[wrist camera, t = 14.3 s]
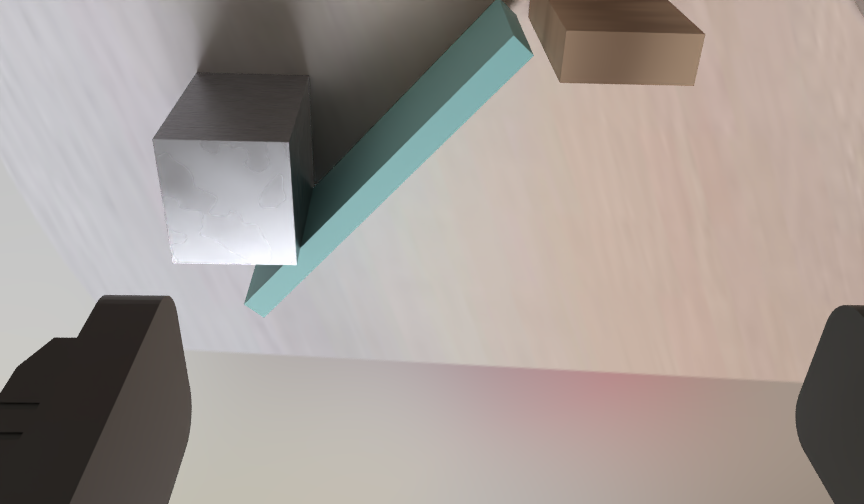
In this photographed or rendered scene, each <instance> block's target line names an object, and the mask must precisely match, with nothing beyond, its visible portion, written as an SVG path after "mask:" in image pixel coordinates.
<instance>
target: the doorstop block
mask: <svg viewBox="0 0 864 504" xmlns="http://www.w3.org/2000/svg"><path fill="white" fill-rule="evenodd" d="M152 140H153V146H154V152H155V158H156V164H157V170H158V176H159V182H160V188H161V194H162V200H163V206H164V212H165V219H166V225H167V231H168V237H169V243H170V249H171V255H172V261H173V263H189V264H255V265H297V262H298V257H299V253H300V248H301V243H302V238H303V234H304V229H305V224H306V220H307V215H308V210H309V206H310V201H311V196H312V192H313V187H314V168H313V148H312V127H311V106H310V85H309V76H305V75H267V74H228V73H196V75H195V76H194V78H193V79H192V81H191V82H190V84H189V85H188V87H187V88H186V90H185V91H184V93H183V94H182V96H181V97H180V99H179V100H178V102H177V103H176V105H175V106H174V108H173V109H172V111H171V112H170V114H169V115H168V117H167V118H166V120H165V121H164V123H163V124H162V126H161V127H160V129H159V130H158V132H157V133H156V135H155V136H154V138H153V139H152Z"/></svg>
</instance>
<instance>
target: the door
mask: <svg viewBox="0 0 864 504" xmlns="http://www.w3.org/2000/svg"><path fill="white" fill-rule="evenodd" d="M533 56H534V55H533V53H532V51H531V48H530V46H529V44H528V41H527V39H526V37H525V35H524V32H523V30H522V28H521V25H520V23H519V21H518V19H517V16H516V14H515V13H514V12H513V11H512V10H511V9H510V8H509V7H508V6H507V5H506V4H505V3H504V2H503V1H502V0H495V1H494V2H493V3H492V4H491V5H490V6H489V7H488V8H487V9H486V10H485V12H484V13H483V14H482V15H481V16H480V17H479V18H478V19H477V20H476V21H475V22H474V23H473V24H472V25H471V26H470V27H469V28H468V29H467V30H466V31H465V32H464V33H463V34H462V35H461V36H460V37H459V38H458V39H457V40H456V41H455V43H454V44H453V45H452V46H451V47H450V48H449V49H448V50H447V51H446V52H445V53H444V54H443V55H442V56H441V57H440V58H439V59H438V60H437V61H436V62H435V63H434V64H433V65H432V66H431V67H430V68H429V69H428V70H427V71H426V72H425V73H424V75H423V76H422V77H421V78H420V79H419V80H418V81H417V82H416V83H415V84H414V85H413V86H412V87H411V88H410V89H409V90H408V91H407V92H406V93H405V94H404V95H403V96H402V97H401V98H400V99H399V100H398V101H397V102H396V103H395V104H394V105H393V107H392V108H391V109H390V110H389V111H388V112H387V113H386V114H385V115H384V116H383V117H382V118H381V119H380V120H379V121H378V122H377V123H376V124H375V125H374V126H373V127H372V128H371V129H370V130H369V131H368V132H367V133H366V134H365V135H364V136H363V138H362V139H361V140H360V141H359V142H358V143H357V144H356V145H355V146H354V147H353V148H352V149H351V150H350V151H349V152H348V153H347V154H346V155H345V156H344V157H343V158H342V159H341V160H340V161H339V162H338V163H337V164H336V165H335V166H334V167H333V168H332V170H331V171H330V172H329V173H328V174H327V175H326V176H325V177H324V178H323V179H322V180H321V181H320V182H319V183H318V184H317V185H316V186H315V187H314V188H313V192H312V196H311V201H310V206H309V210H308V215H307V220H306V224H305V229H304V234H303V238H302V243H301V248H300V253H299V257H298V262H297V265H256V266H255V269H254V273H253V276H252V279H251V283H250V286H249V290H248V293H247V296H246V300H245V303H244V305H246V306H247V307H249V308H250V309H252V310H253V311H255V312H256V313H258V314H259V315H261V316H262V317H265V316H266V315H267V314H268V313H269V312H270V311H271V310H272V309H273V308H274V307H276V306H277V305H278V304H279V303H280V302H281V301H282V300H283V299H284V298H285V297H286V296H287V295H288V294H289V293H290V292H291V291H292V290H293V289H294V288H295V287H296V286H297V285H298V284H299V283H300V282H301V281H302V280H303V279H304V278H305V277H306V276H307V275H308V274H309V273H310V272H312V271H313V270H314V269H315V268H316V267H317V266H318V265H319V264H320V263H321V262H322V261H323V260H324V259H325V258H326V257H327V256H328V255H329V254H330V253H331V252H332V251H333V250H334V249H335V248H336V247H337V246H338V245H339V244H340V243H341V242H342V241H343V240H344V239H345V238H346V237H348V236H349V235H350V234H351V233H352V232H353V231H354V230H355V229H356V228H357V227H358V226H359V225H360V224H361V223H362V222H363V221H364V220H365V219H366V218H367V217H368V216H369V215H370V214H371V213H372V212H373V211H374V210H375V209H376V208H377V207H378V206H379V205H380V204H381V203H382V202H384V201H385V200H386V199H387V198H388V197H389V196H390V195H391V194H392V193H393V192H394V191H395V190H396V189H397V188H398V187H399V186H400V185H401V184H402V183H403V182H404V181H405V180H406V179H407V178H408V177H409V176H410V175H411V174H412V173H413V172H414V171H415V170H416V169H417V168H418V167H420V166H421V165H422V164H423V163H424V162H425V161H426V160H427V159H428V158H429V157H430V156H431V155H432V154H433V153H434V152H435V151H436V150H437V149H438V148H439V147H440V146H441V145H442V144H443V143H444V142H445V141H446V140H447V139H448V138H449V137H450V136H451V135H452V134H453V133H454V132H456V131H457V130H458V129H459V128H460V127H461V126H462V125H463V124H464V123H465V122H466V121H467V120H468V119H469V118H470V117H471V116H472V115H473V114H474V113H475V112H476V111H477V110H478V109H479V108H480V107H481V106H482V105H483V104H484V103H485V102H486V101H487V100H488V99H489V98H490V97H492V96H493V95H494V94H495V93H496V92H497V91H498V90H499V89H500V88H501V87H502V86H503V85H504V84H505V83H506V82H507V81H508V80H509V79H510V78H511V77H512V76H513V75H514V74H515V73H516V72H517V71H518V70H519V69H520V68H521V67H522V66H523V65H524V64H525V63H526V62H528V61H529V60H530V59H531V58H532V57H533Z"/></svg>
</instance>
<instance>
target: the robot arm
mask: <svg viewBox="0 0 864 504" xmlns="http://www.w3.org/2000/svg"><path fill="white" fill-rule="evenodd" d="M854 1H855V3H856V5H857V7H858V8H859V10H860V12H861V14H862V16H863V17H864V0H854ZM191 408H192V405H191V392H190V386H189V380H188V374H187V369H186V362H185V357H184V351H183V345H182V339H181V333H180V327H179V321H178V316H177V310H176V306H175V303H174V301H173V299H172V298H171V297H170V296H141V295H104V296H102V297H101V298H100V299H99V300H98V302H97V303H96V305H95V307H94V309H93V310H92V312H91V314H90V316H89V318H88V319H87V321H86V323H85V325H84V326H83V328H82V330H81V331H80V333H79V335H78V337H77V338H53V339H52V340H51V341H49V342H48V343H47V344H46V345H44V346H43V347H42V348H41V349H39V350H38V351H37V352H36V353H34V354H33V355H32V356H30V357H29V358H28V359H27V360H25V361H24V362H23V363H22V364H20V365H19V366H18V367H17V368H16V369H15V371H14V372H13V374H12V376H11V377H10V379H9V381H8V382H7V383H6V385H5V387H4V388H3V390H2V391H1V393H0V504H168V503H169V500H170V496H171V493H172V490H173V487H174V484H175V481H176V477H177V474H178V471H179V468H180V465H181V462H182V459H183V456H184V452H185V449H186V446H187V442H188V438H189V433H190V425H191V410H192V409H191ZM796 428H797V433H798V437H799V441H800V443H801V446H802V448H803V450H804V452H805V453H806V455H807V457H808V458H809V460H810V462H811V464H812V466H813V467H814V469H815V471H816V473H817V474H818V476H819V478H820V479H821V481H822V483H823V485H824V486H825V488H826V490H827V491H828V493H829V495H830V497H831V498H832V500H833V502H834V504H864V305H843V306H839V307H838V308H836V309H835V310H834V311H833V312H832V313H831V315H830V316H829V318H828V320H827V322H826V325H825V328H824V330H823V333H822V336H821V338H820V341H819V343H818V346H817V349H816V351H815V354H814V357H813V359H812V362H811V365H810V367H809V370H808V372H807V375H806V378H805V380H804V383H803V386H802V388H801V391H800V394H799V397H798V400H797V405H796Z"/></svg>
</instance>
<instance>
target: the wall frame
mask: <svg viewBox="0 0 864 504" xmlns="http://www.w3.org/2000/svg"><path fill="white" fill-rule="evenodd" d="M528 17H529V19H530V22H531V24H532V26H533V28H534V30H535V32H536V34H537V36H538V38H539V40H540V42H541V44H542V46H543V49H544V51H545V53H546V55H547V57H548V59H549V61H550V63H551V65H552V67H553V69H554V71H555V73H556V76H557V78H558V80H559V82H560V83H594V84H636V85H679V86H694V83H695V78H696V74H697V69H698V65H699V60H700V56H701V51H702V47H703V42H704V38H705V34H704V33H703V32H702V31H701V30H700V29H699V28H698V27H697V26H696V25H695V24H694V23H692V22H691V21H690V20H689V19H688V18H687V17H686V16H685V15H684V14H683V13H681V12H680V11H679V10H678V9H677V8H676V7H675V6H674V5H673V4H672V3H670V2H669V1H668V0H530V6H529V16H528Z"/></svg>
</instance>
